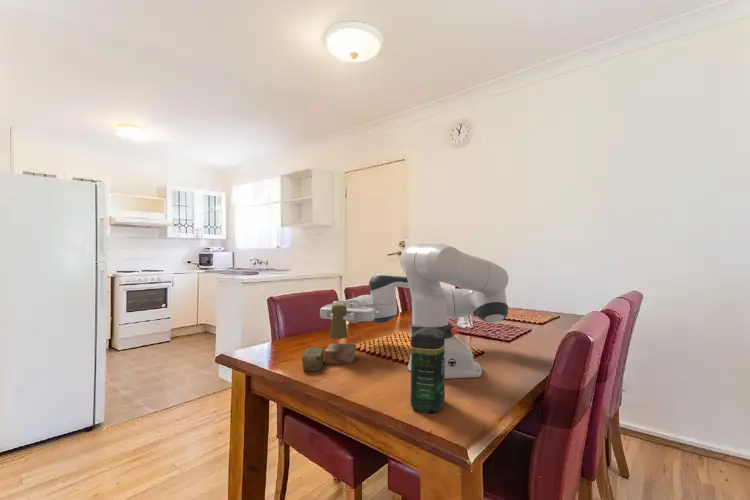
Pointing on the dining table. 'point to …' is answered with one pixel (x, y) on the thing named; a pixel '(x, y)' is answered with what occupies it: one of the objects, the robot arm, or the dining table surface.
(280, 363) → the dining table surface
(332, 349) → the walnut block
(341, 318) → the olive peg figure
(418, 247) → the robot arm
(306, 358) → the stone block
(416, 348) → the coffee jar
